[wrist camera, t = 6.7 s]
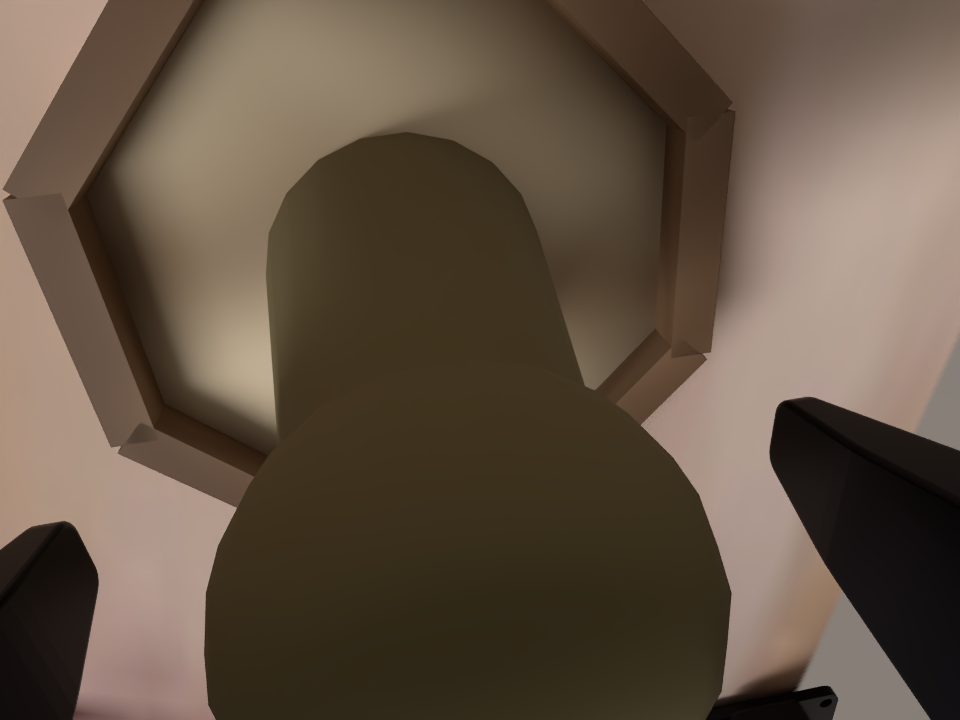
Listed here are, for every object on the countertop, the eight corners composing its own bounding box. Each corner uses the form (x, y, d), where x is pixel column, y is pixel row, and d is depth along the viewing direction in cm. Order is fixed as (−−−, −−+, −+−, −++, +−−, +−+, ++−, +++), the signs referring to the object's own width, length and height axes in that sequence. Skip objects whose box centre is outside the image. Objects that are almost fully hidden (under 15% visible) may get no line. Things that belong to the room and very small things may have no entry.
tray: (676, 452, 20) (700, 488, 18) (180, 538, 18) (166, 584, 17) (722, -140, 13) (767, -154, 11) (-72, -77, 11) (-130, -84, 10)
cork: (211, 305, 15) (-41, 901, 5) (371, 65, 13) (426, 312, 3) (434, 428, 17) (535, 979, 8) (594, 242, 15) (976, 663, 6)
